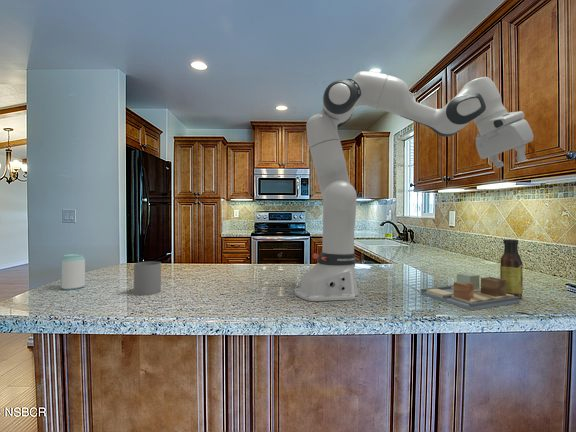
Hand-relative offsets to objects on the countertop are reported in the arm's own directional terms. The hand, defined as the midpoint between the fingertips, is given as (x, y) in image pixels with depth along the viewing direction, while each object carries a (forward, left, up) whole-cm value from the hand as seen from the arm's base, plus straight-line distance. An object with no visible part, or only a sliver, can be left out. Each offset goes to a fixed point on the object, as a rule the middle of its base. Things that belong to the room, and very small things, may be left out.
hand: (510, 164), depth 98 cm
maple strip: (-8, +3, -43) cm, 44 cm away
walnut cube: (-3, +3, -43) cm, 43 cm away
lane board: (-9, +7, -45) cm, 46 cm away
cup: (-109, +51, -45) cm, 129 cm away
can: (-134, +66, -45) cm, 156 cm away
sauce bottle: (+7, +3, -45) cm, 46 cm away
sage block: (-3, +12, -43) cm, 45 cm away
